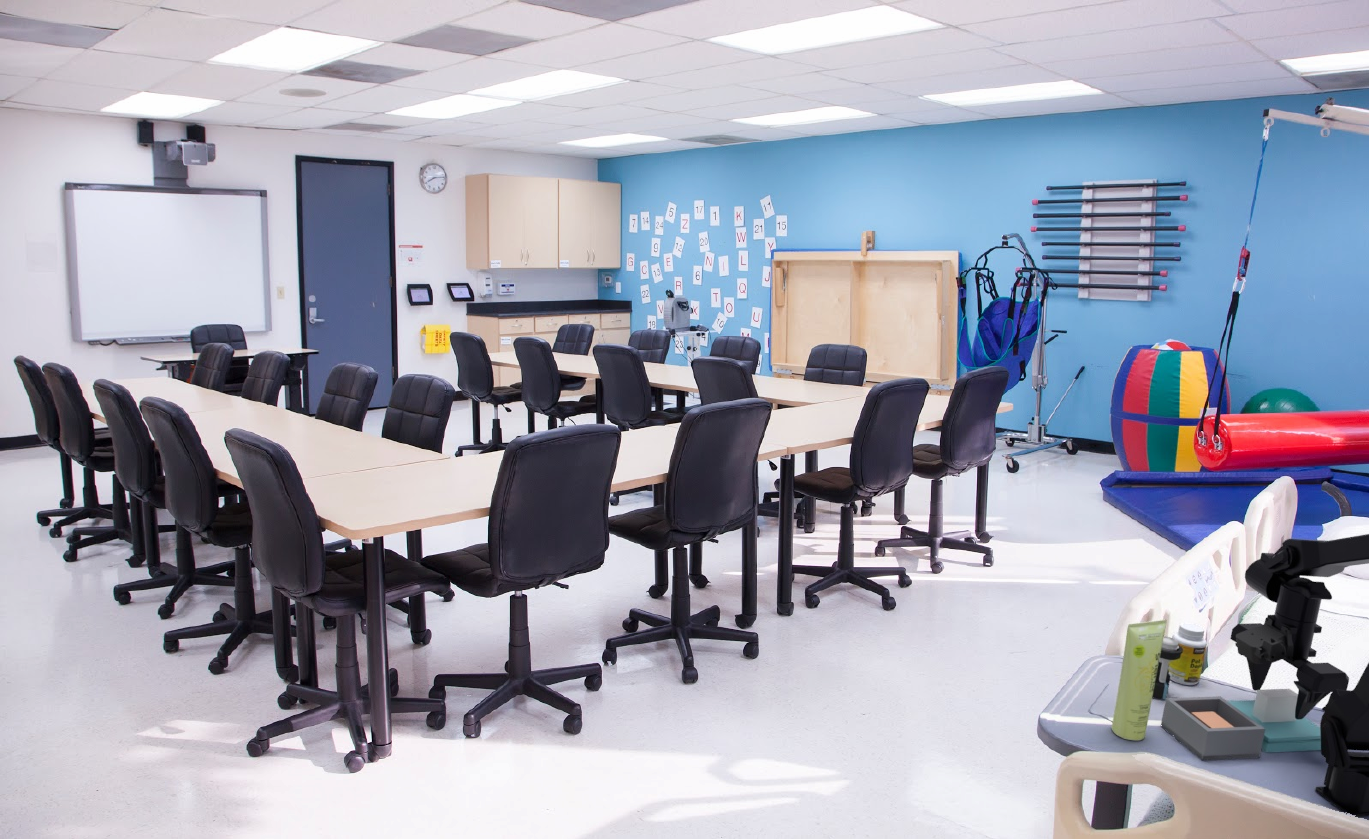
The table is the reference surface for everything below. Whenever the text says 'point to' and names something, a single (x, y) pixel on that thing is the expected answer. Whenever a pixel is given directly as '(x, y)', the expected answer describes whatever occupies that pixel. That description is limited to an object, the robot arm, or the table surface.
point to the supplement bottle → (1188, 654)
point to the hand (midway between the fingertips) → (1276, 704)
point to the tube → (1138, 678)
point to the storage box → (1212, 728)
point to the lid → (1280, 721)
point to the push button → (1165, 666)
